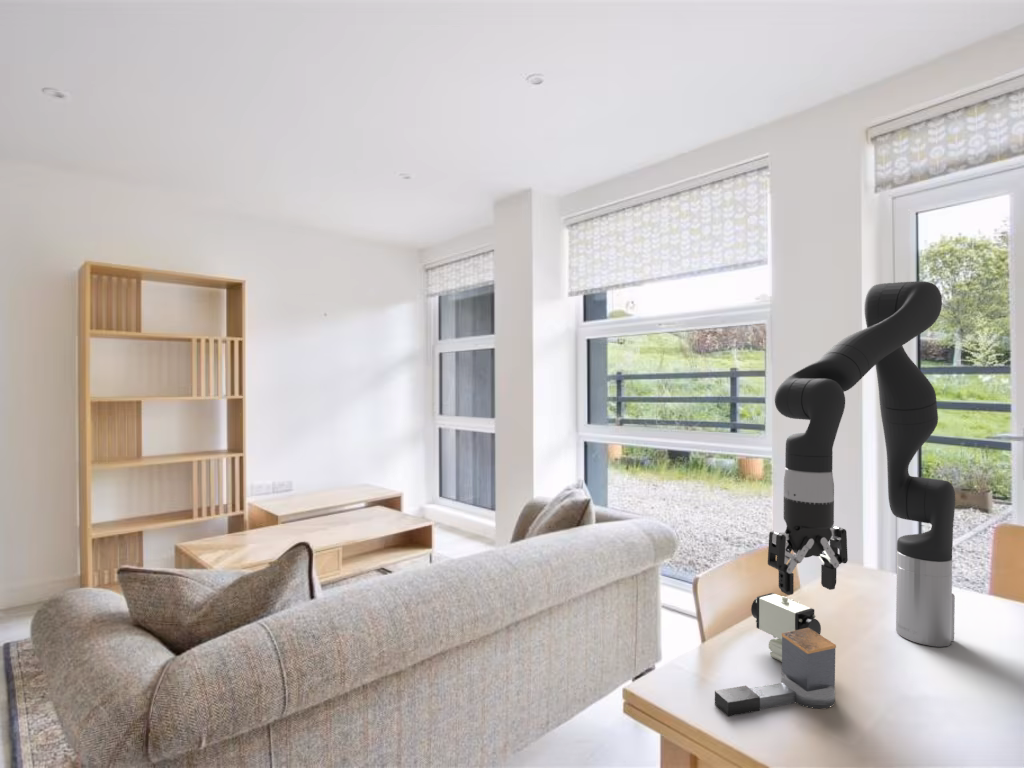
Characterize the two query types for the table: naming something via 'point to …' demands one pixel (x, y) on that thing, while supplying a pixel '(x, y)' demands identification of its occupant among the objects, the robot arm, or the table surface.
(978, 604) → the table surface
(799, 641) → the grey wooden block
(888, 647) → the table surface
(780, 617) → the pneumatic valve
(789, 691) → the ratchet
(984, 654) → the table surface
